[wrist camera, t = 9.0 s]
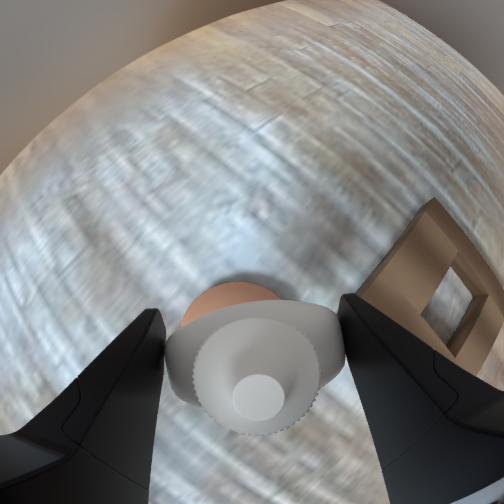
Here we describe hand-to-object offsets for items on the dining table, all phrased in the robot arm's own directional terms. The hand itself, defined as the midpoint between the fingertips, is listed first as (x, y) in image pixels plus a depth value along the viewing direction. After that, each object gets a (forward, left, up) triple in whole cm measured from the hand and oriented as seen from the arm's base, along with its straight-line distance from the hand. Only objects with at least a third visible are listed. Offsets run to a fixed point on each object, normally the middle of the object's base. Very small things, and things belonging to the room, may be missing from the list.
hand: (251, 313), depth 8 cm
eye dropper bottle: (-1, -1, -7) cm, 7 cm away
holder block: (+12, -12, -13) cm, 21 cm away
